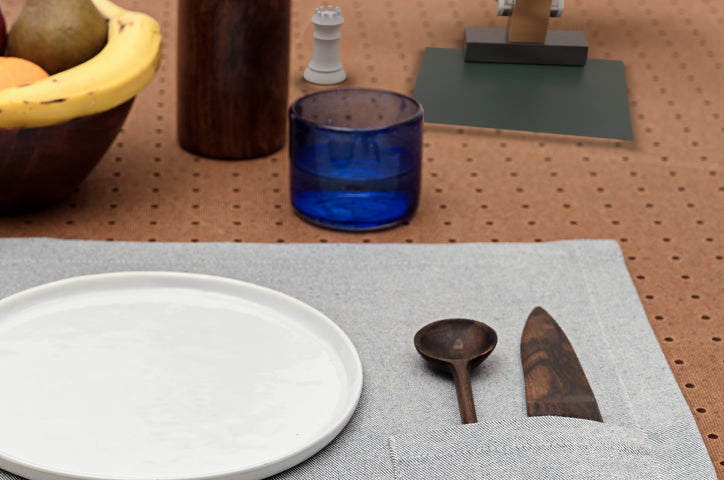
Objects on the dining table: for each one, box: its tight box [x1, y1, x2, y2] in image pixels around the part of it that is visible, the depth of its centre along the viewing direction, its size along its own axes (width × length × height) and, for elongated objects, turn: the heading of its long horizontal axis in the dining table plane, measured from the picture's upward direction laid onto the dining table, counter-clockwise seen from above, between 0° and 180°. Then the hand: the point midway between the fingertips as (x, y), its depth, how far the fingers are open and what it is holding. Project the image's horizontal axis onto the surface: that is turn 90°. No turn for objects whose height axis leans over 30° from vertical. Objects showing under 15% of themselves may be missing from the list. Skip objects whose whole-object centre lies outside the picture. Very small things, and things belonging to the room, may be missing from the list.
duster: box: [462, 0, 590, 66], centre depth 109 cm, size 12×5×8 cm, turn 81°
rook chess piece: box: [302, 5, 347, 86], centre depth 106 cm, size 4×4×8 cm
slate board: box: [411, 46, 634, 142], centre depth 105 cm, size 20×20×1 cm
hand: (529, 14), depth 109 cm, fingers closed on duster, 3 cm apart
